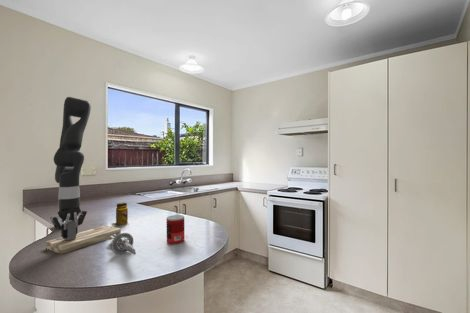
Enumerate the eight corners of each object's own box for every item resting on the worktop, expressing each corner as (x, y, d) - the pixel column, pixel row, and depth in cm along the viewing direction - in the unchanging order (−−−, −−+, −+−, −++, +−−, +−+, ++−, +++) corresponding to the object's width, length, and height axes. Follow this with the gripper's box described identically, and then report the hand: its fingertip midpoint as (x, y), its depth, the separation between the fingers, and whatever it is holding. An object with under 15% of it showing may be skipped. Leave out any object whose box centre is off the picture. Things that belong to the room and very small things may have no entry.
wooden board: (46, 248, 97) (46, 241, 97) (105, 231, 120) (105, 225, 120) (61, 254, 91) (61, 245, 91) (120, 234, 114) (120, 228, 114)
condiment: (129, 224, 132) (129, 203, 132) (112, 227, 127) (112, 205, 128) (127, 221, 138) (127, 201, 138) (111, 224, 134) (111, 203, 134)
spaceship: (118, 249, 75) (141, 235, 80) (101, 233, 103) (119, 223, 107) (128, 269, 76) (150, 254, 81) (109, 249, 104) (126, 238, 109)
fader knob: (63, 242, 99) (63, 222, 99) (70, 240, 102) (70, 221, 102) (68, 244, 97) (68, 223, 97) (75, 241, 100) (75, 222, 100)
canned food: (187, 239, 107) (187, 215, 107) (178, 245, 99) (177, 219, 99) (173, 237, 109) (173, 214, 110) (163, 243, 102) (162, 218, 102)
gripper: (81, 194, 107) (81, 231, 107) (45, 198, 95) (45, 240, 95) (91, 195, 104) (91, 233, 104) (55, 200, 92) (55, 243, 91)
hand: (69, 236), depth 99 cm, fingers closed on fader knob, 3 cm apart
